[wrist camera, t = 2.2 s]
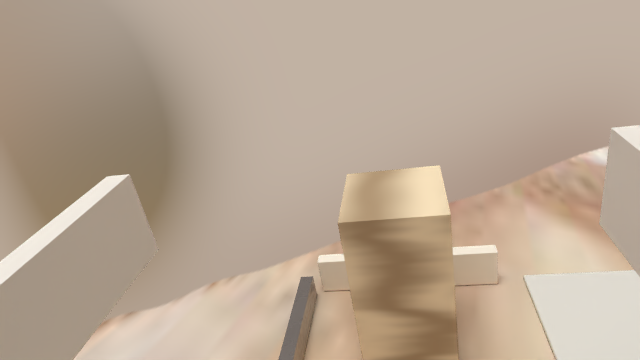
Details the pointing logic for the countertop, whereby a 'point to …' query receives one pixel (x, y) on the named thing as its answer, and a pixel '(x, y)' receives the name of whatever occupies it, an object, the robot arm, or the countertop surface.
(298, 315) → the bar
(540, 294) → the grey mat
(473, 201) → the countertop surface
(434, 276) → the maple block
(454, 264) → the lane rail
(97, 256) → the robot arm
